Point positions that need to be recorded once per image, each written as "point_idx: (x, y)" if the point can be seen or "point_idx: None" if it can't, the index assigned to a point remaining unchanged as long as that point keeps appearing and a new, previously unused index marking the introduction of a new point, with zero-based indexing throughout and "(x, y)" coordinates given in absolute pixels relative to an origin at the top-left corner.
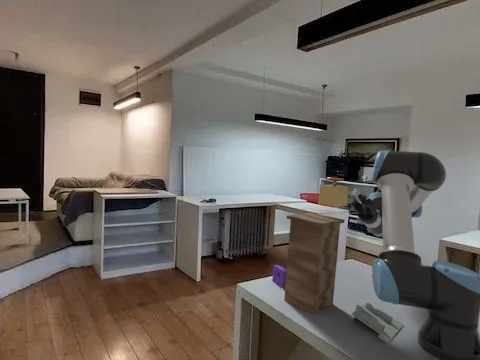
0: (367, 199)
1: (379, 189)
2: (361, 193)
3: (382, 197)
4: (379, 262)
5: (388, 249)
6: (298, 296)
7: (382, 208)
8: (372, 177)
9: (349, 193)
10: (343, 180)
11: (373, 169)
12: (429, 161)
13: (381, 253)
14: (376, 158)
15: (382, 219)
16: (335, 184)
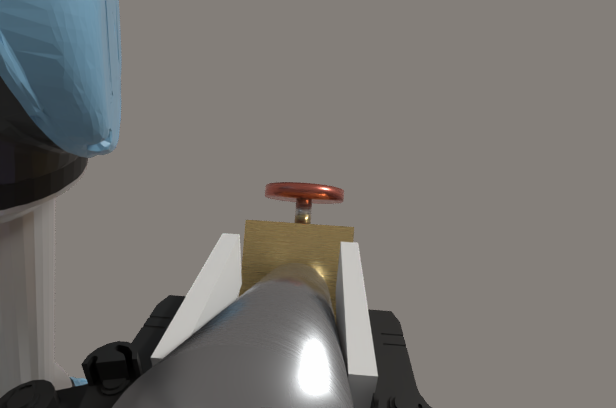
0: (66, 390)
1: (42, 203)
2: (180, 344)
3: (54, 239)
4: (83, 378)
5: (54, 363)
6: None
7: (54, 285)
8: (118, 137)
9: (263, 278)
10: (266, 191)
11: (106, 38)
12: None
13: (70, 381)
14: (119, 23)
15: (53, 324)
16: (295, 217)
